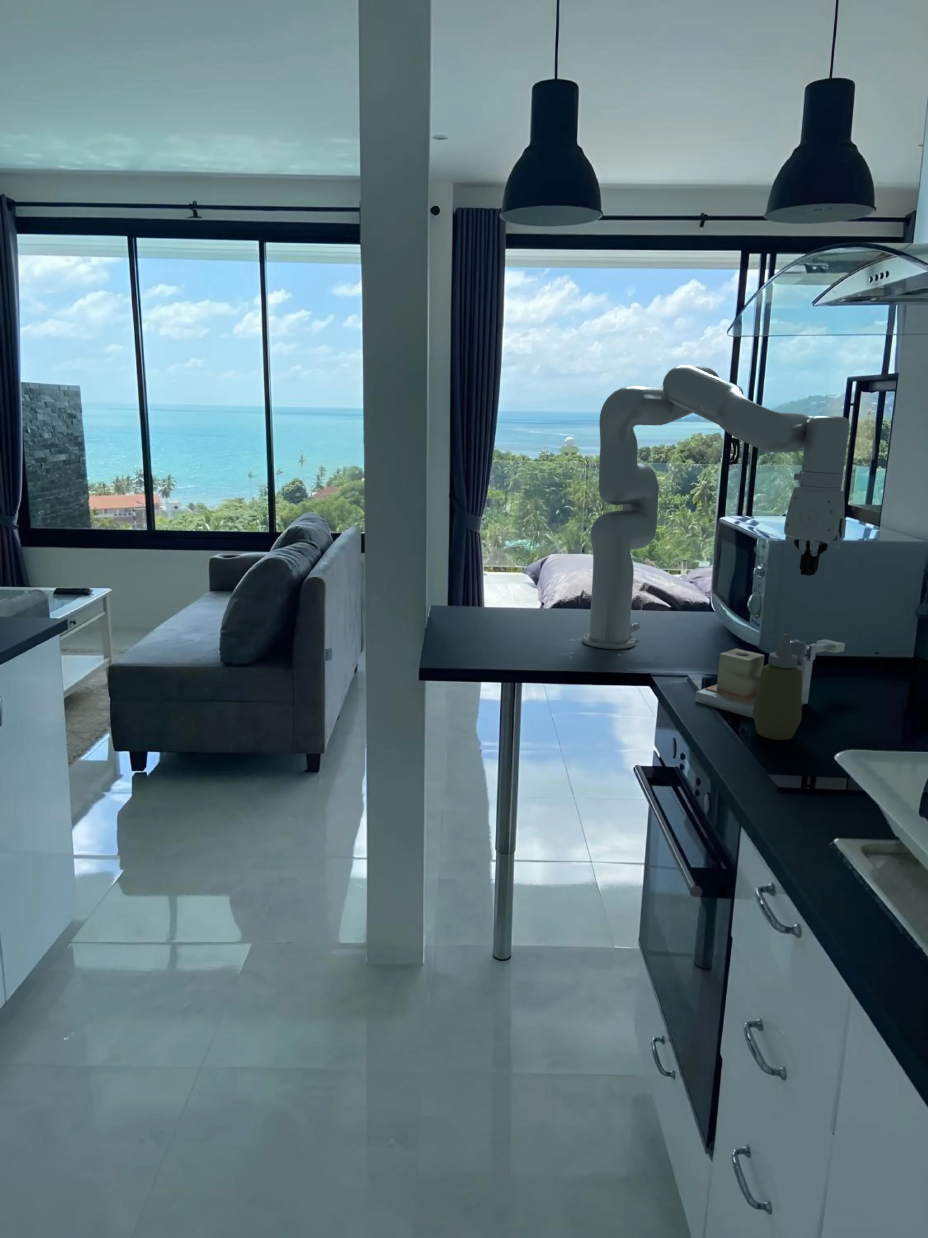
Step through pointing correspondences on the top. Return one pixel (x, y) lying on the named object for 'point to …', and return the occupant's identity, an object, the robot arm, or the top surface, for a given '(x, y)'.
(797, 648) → the press lever
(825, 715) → the top surface
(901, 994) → the top surface
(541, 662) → the top surface
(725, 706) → the press
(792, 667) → the squeeze bottle
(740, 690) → the maple block
